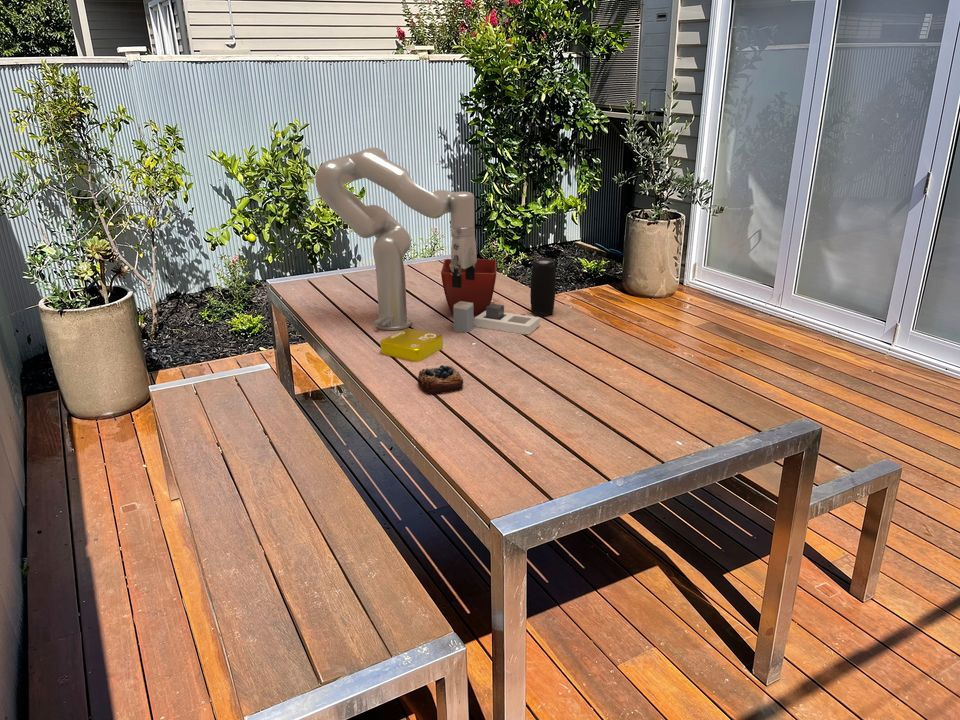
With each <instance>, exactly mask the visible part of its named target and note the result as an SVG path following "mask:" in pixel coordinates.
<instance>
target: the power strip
mask: <svg viewBox="0 0 960 720" xmlns="http://www.w3.org/2000/svg"><path fill="white" fill-rule="evenodd" d="M540 326H541V317H539V316H530V315H526V313H521V314H518V313H510V312H505V305H504V304H500V303H499V304H497V303H492V302H491V304H490V305H488V306H487V307H486V311H484V312H483V313H481V314H480V315H478V316H474V328H475V327H476V328H480V327H481V328H480V329H487V330H493V329H494V330H495V331H499V330H500V332H508V333H512V332H513V333H514V334H519V335H525V334H528V335H527V336H530V335H531V334H532V333H533V332H534V331H535V329H536V328H537V327H538V328H539V327H540ZM538 328H537V329H538ZM532 331H533V332H532ZM531 332H532V333H531ZM530 333H531V334H530ZM529 334H530V335H529Z"/></svg>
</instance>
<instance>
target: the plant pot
mask: <svg viewBox="0 0 960 720" xmlns="http://www.w3.org/2000/svg"><path fill="white" fill-rule="evenodd" d="M450 263H451V258H446V259H444V260H443V264H442V268H441V272H440V275H441V276H440V277H441V281H442V282H441V283H442V289H443V292H444V296H445V299H446V300H445V301H446V304H447V307H448V309H449V312H450V315H451V316H453V308H454V305H455V304H456V303H458V302H460V301H463V302H470V303H473V306H474V317H477V316H478V315H480V314H481V313H483V312H484V311H486V307H487V306H488V305H490V304H492V300H493V297H494V296H493V295H494V291H495V285H496V279H497V260H496V259H489V258H488V259H486V258H485V259H484V258H483V259H482V258H479V259H478V258H477V262H476V263H475V280H466V270H465V269H463V268H462V271H461V274H460V275H461V276H462V287H461V288H457V287H452V275H451V271H450V266H449V265H450ZM458 270H459V269H457V271H458Z"/></svg>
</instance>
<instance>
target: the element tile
mask: <svg viewBox="0 0 960 720" xmlns="http://www.w3.org/2000/svg"><path fill="white" fill-rule="evenodd" d="M443 342H444V337H443V335H441V334H438V333H432V332H428V331H424V330H423V331H422V330H418V329H414V328H409V327H407V328H404V329H400V331H397V332H395V333H393V334H391V335H389V336H386V337H384V338H383V339H381V340H380V353H381V354H382V355H384V356H389V357H392V358H397V359H401V360H406V361H410V362H413V363H414V362H416V363H417V362H422V361H423V360H426V359H427V358H429V357H430V355H431V356H432V355H434V354H436V353H438V352H439V351H441V350H442V348H444V343H443ZM437 351H438V352H437ZM428 356H429V357H428Z"/></svg>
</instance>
